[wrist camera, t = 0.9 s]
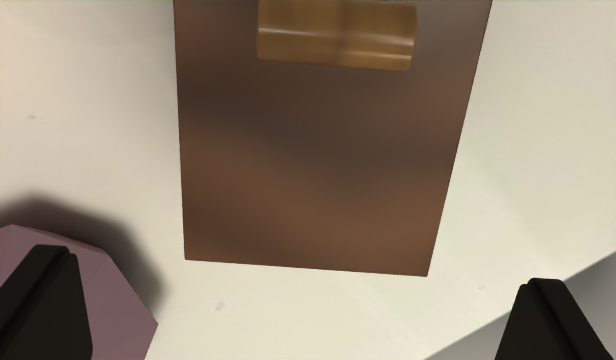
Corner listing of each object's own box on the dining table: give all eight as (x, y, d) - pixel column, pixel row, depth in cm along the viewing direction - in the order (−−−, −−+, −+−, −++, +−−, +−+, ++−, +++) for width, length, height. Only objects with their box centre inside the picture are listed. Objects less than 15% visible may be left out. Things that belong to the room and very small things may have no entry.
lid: (174, -71, 21) (123, -58, 15) (496, -43, 21) (560, -21, 15) (187, 251, 28) (156, 337, 23) (424, 268, 28) (450, 357, 23)
